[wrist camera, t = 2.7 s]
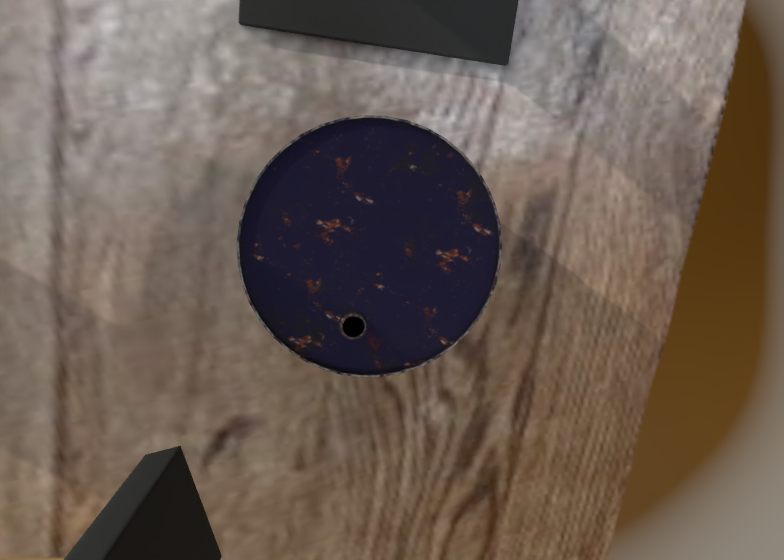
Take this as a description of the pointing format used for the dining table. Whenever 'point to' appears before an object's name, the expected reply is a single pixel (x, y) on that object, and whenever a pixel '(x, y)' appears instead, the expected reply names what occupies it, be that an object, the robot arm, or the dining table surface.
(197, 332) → the dining table surface
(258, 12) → the mat
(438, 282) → the dark oil barrel
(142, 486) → the robot arm
